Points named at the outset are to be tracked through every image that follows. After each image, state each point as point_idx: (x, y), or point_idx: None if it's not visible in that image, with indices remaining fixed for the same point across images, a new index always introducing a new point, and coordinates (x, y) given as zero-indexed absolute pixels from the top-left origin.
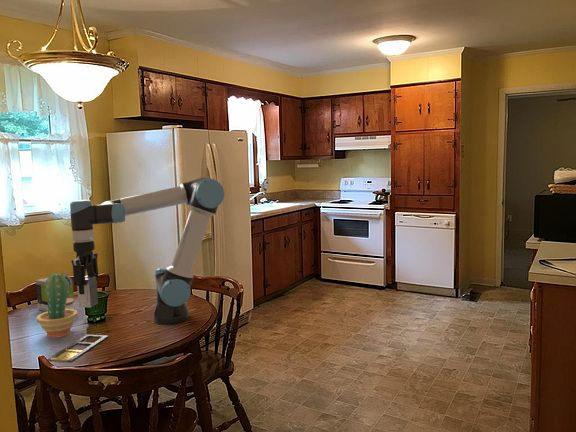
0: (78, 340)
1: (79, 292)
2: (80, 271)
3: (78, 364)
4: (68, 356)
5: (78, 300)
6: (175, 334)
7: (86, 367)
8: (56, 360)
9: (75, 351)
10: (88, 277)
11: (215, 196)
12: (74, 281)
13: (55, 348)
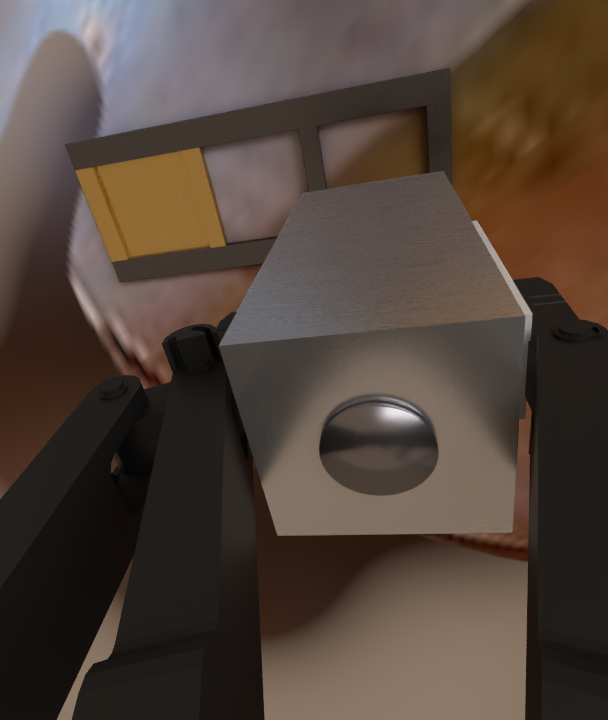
0: (335, 103)
1: (219, 331)
2: (54, 682)
3: (122, 324)
4: (149, 224)
5: (290, 213)
6: (525, 505)
7: (121, 370)
8: (90, 201)
9: (203, 218)
10: (370, 492)
11: None
12: (68, 430)
13: (198, 32)
